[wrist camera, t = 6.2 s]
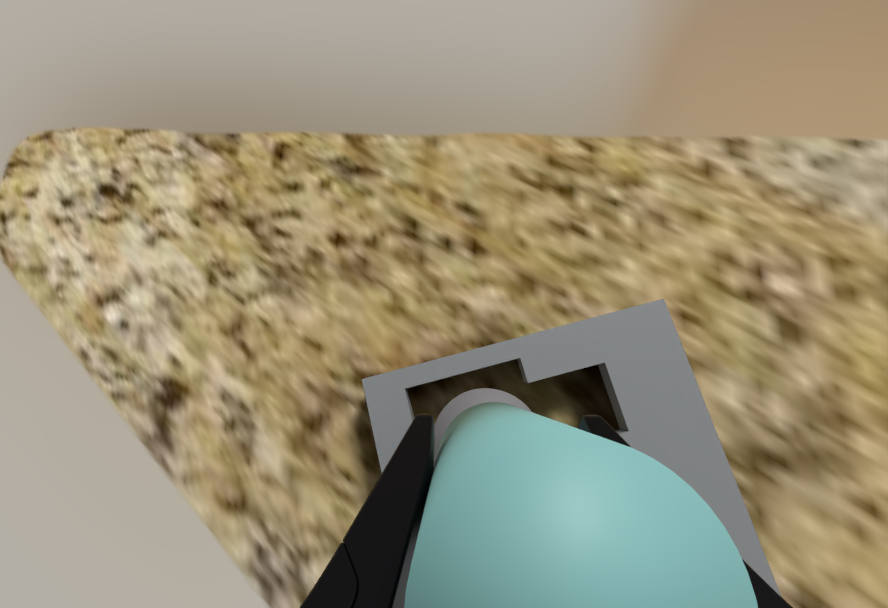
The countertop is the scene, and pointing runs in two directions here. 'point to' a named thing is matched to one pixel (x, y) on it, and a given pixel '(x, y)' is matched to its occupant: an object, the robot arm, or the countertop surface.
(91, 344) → the countertop surface
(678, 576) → the peg
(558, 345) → the keyhole plate
